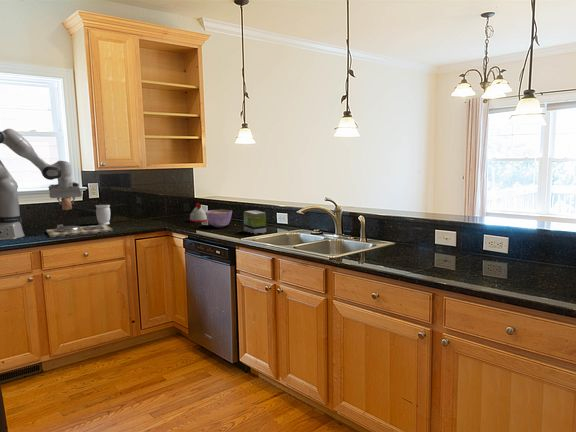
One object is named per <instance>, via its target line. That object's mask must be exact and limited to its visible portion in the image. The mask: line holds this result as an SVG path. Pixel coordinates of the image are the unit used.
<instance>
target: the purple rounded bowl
mask: <svg viewBox="0 0 576 432" xmlns="http://www.w3.org/2000/svg"><path fill="white" fill-rule="evenodd" d="M205 212H206V216H207V222H208V224H209V225H210V226H213V227H214V228H225V227H226V226H228V225H229V224H230V222H231V219H232V214H233V210H230V209H229V210H228V209H211V210H207V211H205Z"/></svg>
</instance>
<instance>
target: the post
mask: <svg viewBox="0 0 576 432" xmlns="http://www.w3.org/2000/svg"><path fill="white" fill-rule="evenodd" d="M80 227H81V226H79V225H65V226H64V223H63V224H62V223H60V224H56V229H57V232H74V231H79V230H80Z"/></svg>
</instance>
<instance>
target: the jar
mask: <svg viewBox="0 0 576 432" xmlns="http://www.w3.org/2000/svg"><path fill="white" fill-rule="evenodd" d="M110 207H111V205H110V204H96V205H95V208H96V209H95V215H96V220H97V222H98V223H97V225H107V226H108V225H110V224H111V223H110V220H111V208H110Z"/></svg>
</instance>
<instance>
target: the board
mask: <svg viewBox="0 0 576 432" xmlns="http://www.w3.org/2000/svg"><path fill="white" fill-rule="evenodd" d="M108 231H111V232H114V229H113V228H112V227H110V226H109V225H108V224H107V225H99V224H97V225H88V226H87V225H85V226H80V230H79V231H74V232H57V228H53V229H52V228H51V229H46V234H47V235H48V236H49V238H57V237H56V236H59V237H66V236H65V235H69V236H77V234H80V235H87V234H88V235H90V234H99V233H98V232H101V233H109V232H108ZM89 233H90V234H89Z"/></svg>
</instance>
